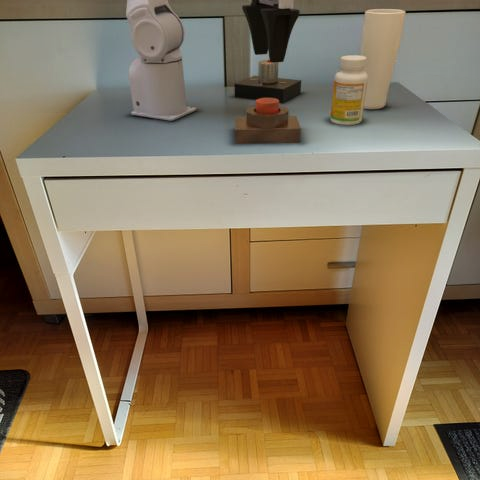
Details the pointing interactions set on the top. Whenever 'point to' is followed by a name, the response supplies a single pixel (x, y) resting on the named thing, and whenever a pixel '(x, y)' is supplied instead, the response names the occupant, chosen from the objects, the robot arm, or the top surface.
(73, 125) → the top surface
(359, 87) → the supplement bottle
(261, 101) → the button
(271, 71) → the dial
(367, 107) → the tall cream tumbler
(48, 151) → the top surface
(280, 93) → the dial panel
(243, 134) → the button block
